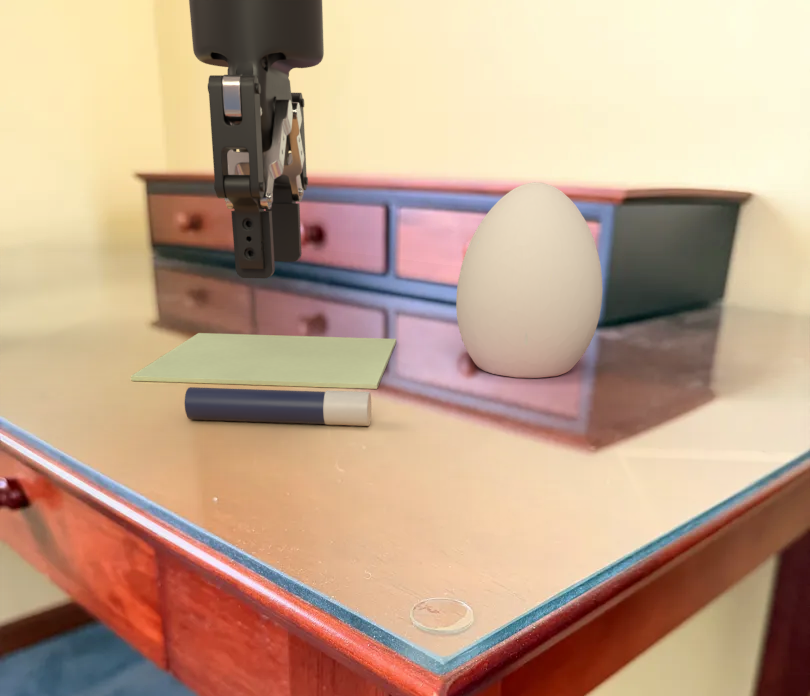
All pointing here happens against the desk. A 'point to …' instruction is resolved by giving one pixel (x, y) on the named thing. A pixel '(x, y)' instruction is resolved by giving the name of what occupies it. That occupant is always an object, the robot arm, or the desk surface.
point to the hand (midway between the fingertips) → (271, 268)
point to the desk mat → (273, 361)
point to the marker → (279, 406)
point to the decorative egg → (530, 285)
